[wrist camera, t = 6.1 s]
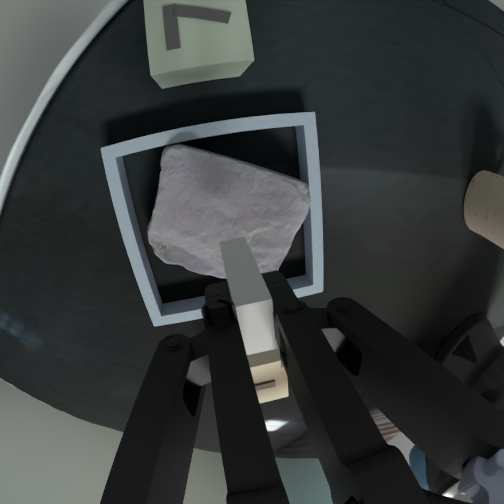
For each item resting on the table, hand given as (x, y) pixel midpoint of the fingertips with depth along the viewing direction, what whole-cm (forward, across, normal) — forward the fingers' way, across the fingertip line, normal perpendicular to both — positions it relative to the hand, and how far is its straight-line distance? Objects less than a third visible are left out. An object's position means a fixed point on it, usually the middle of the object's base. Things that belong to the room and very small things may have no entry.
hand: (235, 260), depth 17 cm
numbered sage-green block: (+8, 0, -15) cm, 17 cm away
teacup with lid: (+8, -35, +2) cm, 36 cm away
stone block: (+8, 0, 0) cm, 8 cm away
